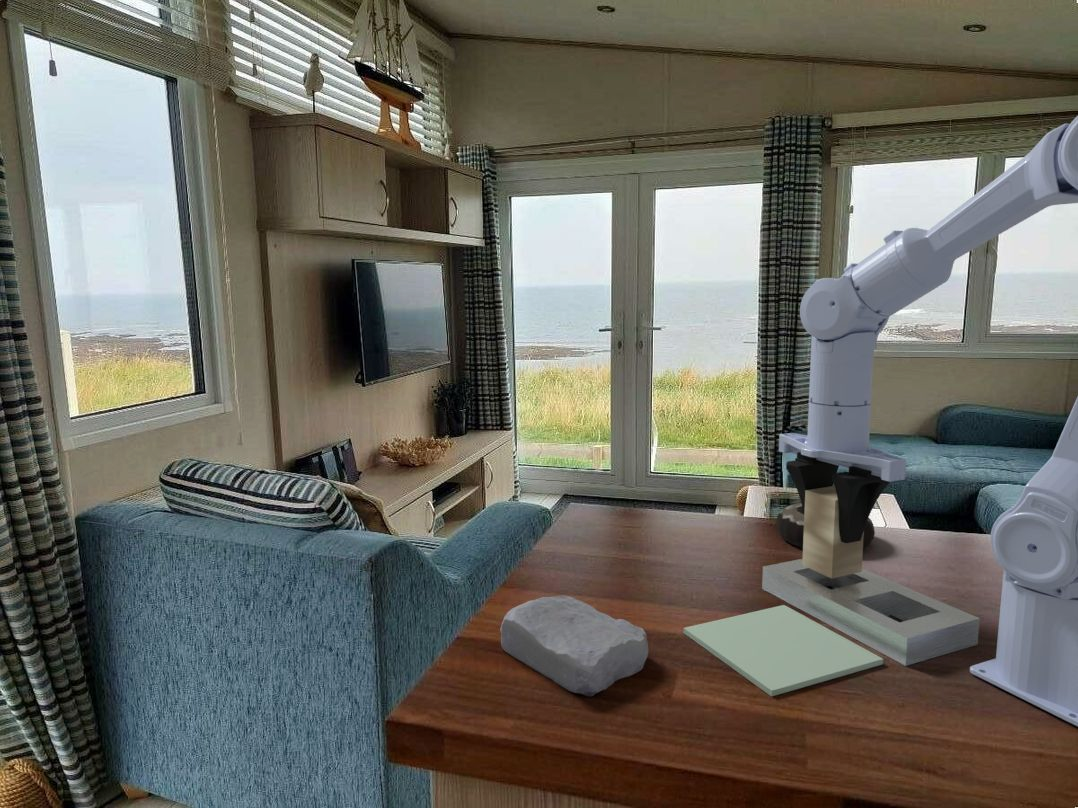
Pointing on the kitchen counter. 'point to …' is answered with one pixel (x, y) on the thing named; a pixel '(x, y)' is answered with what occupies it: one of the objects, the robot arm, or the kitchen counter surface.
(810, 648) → the mat
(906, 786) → the kitchen counter surface
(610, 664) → the stone block
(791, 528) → the donut
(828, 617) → the rail
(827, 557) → the peg
